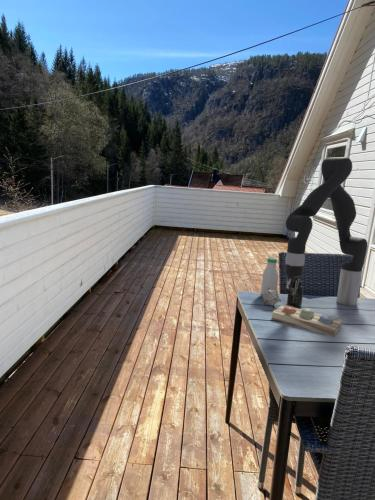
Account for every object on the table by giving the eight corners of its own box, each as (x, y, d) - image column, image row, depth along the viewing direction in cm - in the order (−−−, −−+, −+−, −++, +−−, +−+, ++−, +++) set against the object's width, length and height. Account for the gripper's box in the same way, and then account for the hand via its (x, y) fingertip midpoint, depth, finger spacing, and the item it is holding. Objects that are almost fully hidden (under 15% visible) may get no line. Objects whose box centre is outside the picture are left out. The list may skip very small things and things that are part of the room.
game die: (273, 313, 160) (288, 298, 157) (265, 310, 154) (280, 295, 151) (261, 299, 166) (276, 285, 163) (253, 296, 159) (268, 281, 156)
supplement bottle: (303, 304, 164) (306, 280, 161) (299, 308, 158) (302, 283, 156) (288, 301, 167) (291, 277, 165) (284, 304, 161) (287, 280, 159)
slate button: (320, 321, 139) (321, 314, 139) (332, 324, 137) (333, 317, 136) (317, 324, 136) (318, 317, 135) (329, 328, 133) (330, 320, 132)
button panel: (282, 311, 153) (282, 304, 152) (341, 326, 138) (342, 319, 138) (271, 318, 143) (272, 311, 142) (334, 336, 129) (335, 328, 128)
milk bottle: (276, 300, 168) (280, 260, 164) (260, 298, 169) (264, 259, 165) (275, 295, 175) (279, 257, 171) (260, 293, 176) (264, 256, 173)
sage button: (302, 314, 143) (303, 307, 143) (313, 317, 141) (314, 309, 140) (299, 317, 140) (300, 309, 139) (310, 320, 137) (311, 312, 137)
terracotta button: (285, 312, 148) (286, 305, 147) (295, 314, 145) (296, 307, 145) (281, 315, 144) (282, 307, 144) (292, 317, 142) (292, 310, 141)
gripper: (291, 259, 148) (287, 296, 151) (280, 264, 137) (276, 304, 141) (308, 262, 144) (304, 300, 147) (298, 267, 133) (293, 309, 136)
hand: (290, 302), depth 144 cm, fingers closed
